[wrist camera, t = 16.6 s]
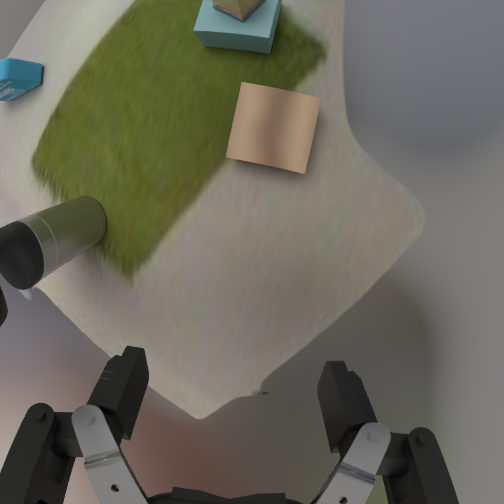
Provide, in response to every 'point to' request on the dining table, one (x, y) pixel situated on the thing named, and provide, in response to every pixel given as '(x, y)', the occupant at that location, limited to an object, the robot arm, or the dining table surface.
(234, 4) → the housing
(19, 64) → the blue rounded flat block
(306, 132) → the stand
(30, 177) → the dining table surface
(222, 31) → the stand
